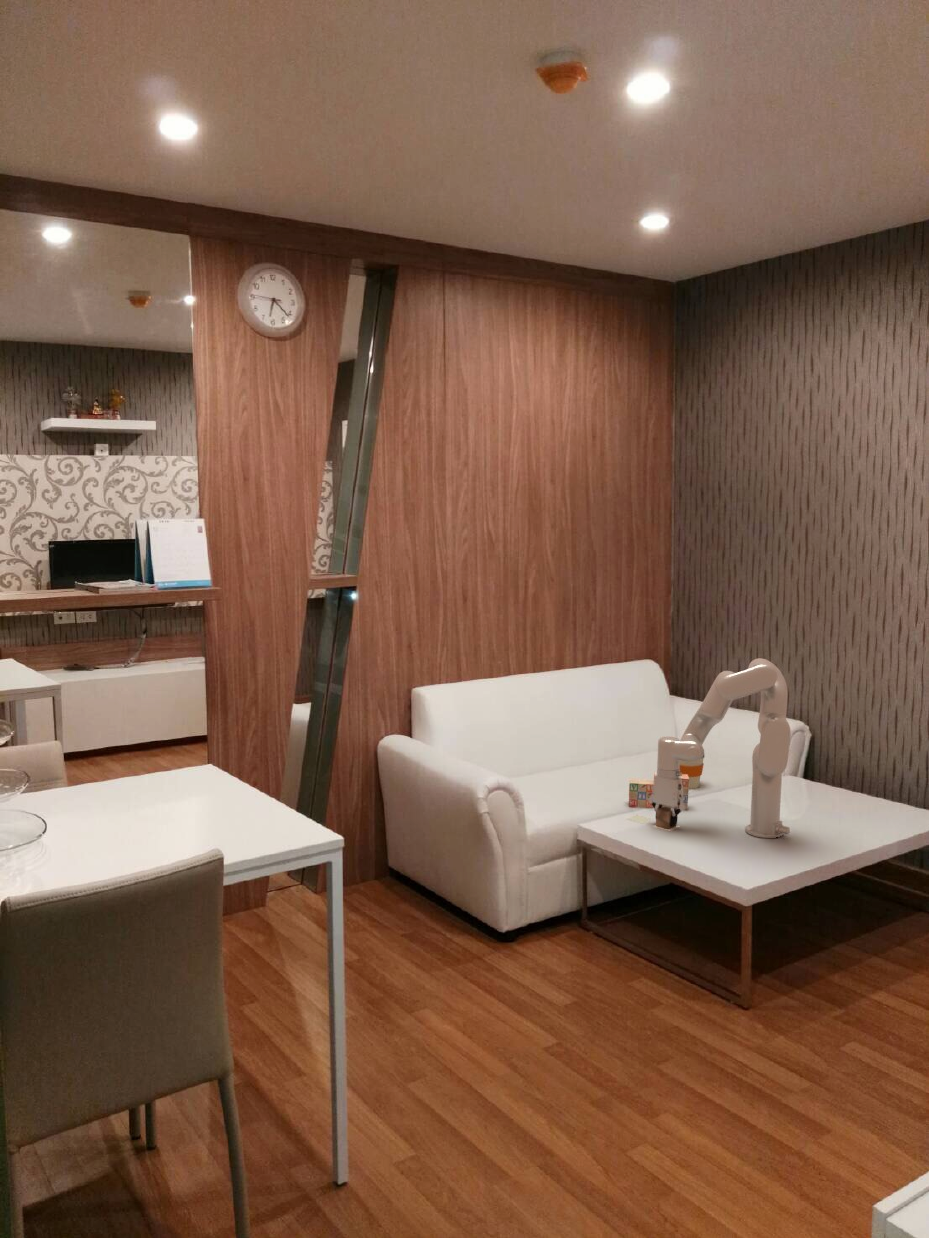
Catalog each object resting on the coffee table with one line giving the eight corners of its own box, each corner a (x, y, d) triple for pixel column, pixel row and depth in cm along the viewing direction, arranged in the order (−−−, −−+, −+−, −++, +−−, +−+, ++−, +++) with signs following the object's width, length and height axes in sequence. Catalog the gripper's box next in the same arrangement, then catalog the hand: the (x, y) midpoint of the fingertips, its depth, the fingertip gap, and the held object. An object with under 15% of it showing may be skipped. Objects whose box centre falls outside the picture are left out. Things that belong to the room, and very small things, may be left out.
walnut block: (676, 826, 350) (676, 809, 350) (668, 829, 347) (669, 812, 346) (663, 822, 354) (664, 806, 353) (656, 826, 350) (656, 809, 349)
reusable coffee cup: (685, 791, 393) (687, 754, 391) (664, 783, 404) (665, 746, 402) (710, 787, 399) (711, 750, 397) (688, 779, 410) (690, 743, 408)
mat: (690, 825, 353) (690, 824, 353) (665, 835, 341) (666, 834, 341) (640, 811, 367) (640, 810, 367) (614, 821, 355) (614, 820, 355)
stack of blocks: (628, 807, 372) (629, 774, 371) (628, 802, 379) (629, 770, 377) (687, 811, 369) (689, 778, 367) (686, 806, 375) (688, 773, 374)
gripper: (695, 775, 345) (693, 827, 347) (653, 766, 356) (651, 816, 359) (683, 780, 339) (681, 832, 342) (641, 770, 351) (639, 820, 353)
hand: (666, 823), depth 350 cm, fingers closed on walnut block, 5 cm apart
